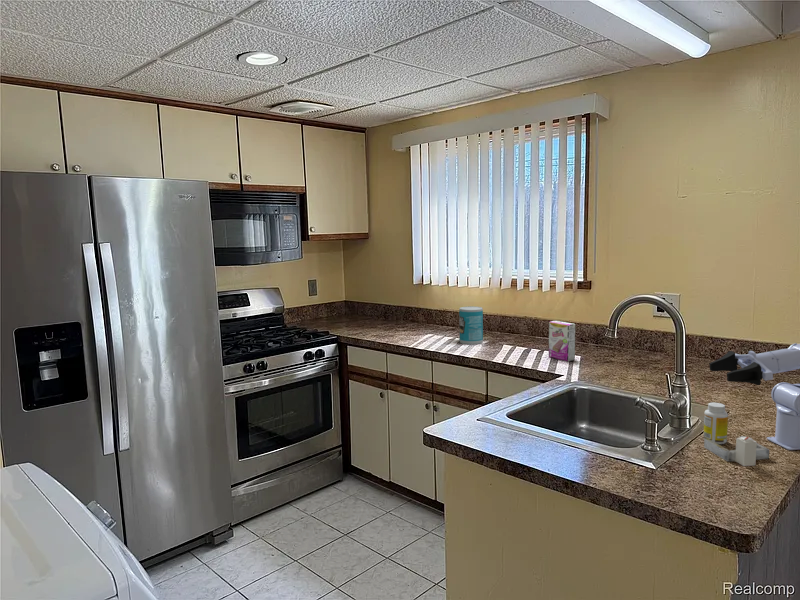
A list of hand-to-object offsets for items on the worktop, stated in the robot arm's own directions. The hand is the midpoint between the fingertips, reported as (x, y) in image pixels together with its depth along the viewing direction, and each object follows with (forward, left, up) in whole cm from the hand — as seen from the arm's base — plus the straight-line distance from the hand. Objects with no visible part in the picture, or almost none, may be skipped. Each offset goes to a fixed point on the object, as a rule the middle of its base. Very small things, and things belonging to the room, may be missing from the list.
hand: (718, 372), depth 143 cm
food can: (+33, -143, -20) cm, 148 cm away
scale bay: (-2, +5, -20) cm, 21 cm away
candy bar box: (+2, -100, -20) cm, 102 cm away
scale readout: (0, +11, -20) cm, 23 cm away
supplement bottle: (-2, -3, -20) cm, 21 cm away
